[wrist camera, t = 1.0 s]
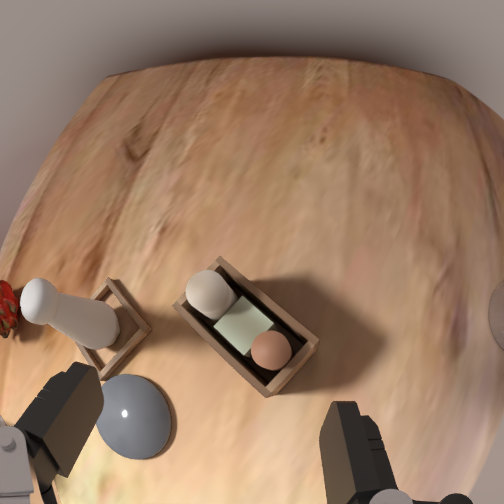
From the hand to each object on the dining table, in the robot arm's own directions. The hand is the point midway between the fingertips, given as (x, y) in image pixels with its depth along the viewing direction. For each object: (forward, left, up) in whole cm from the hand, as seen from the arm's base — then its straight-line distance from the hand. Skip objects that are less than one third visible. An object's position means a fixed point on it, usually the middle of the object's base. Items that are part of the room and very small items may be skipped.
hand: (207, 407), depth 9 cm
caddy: (-3, -5, -21) cm, 22 cm away
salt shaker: (+9, -19, -21) cm, 30 cm away
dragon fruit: (+23, -35, -21) cm, 47 cm away
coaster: (+14, -9, -21) cm, 26 cm away
